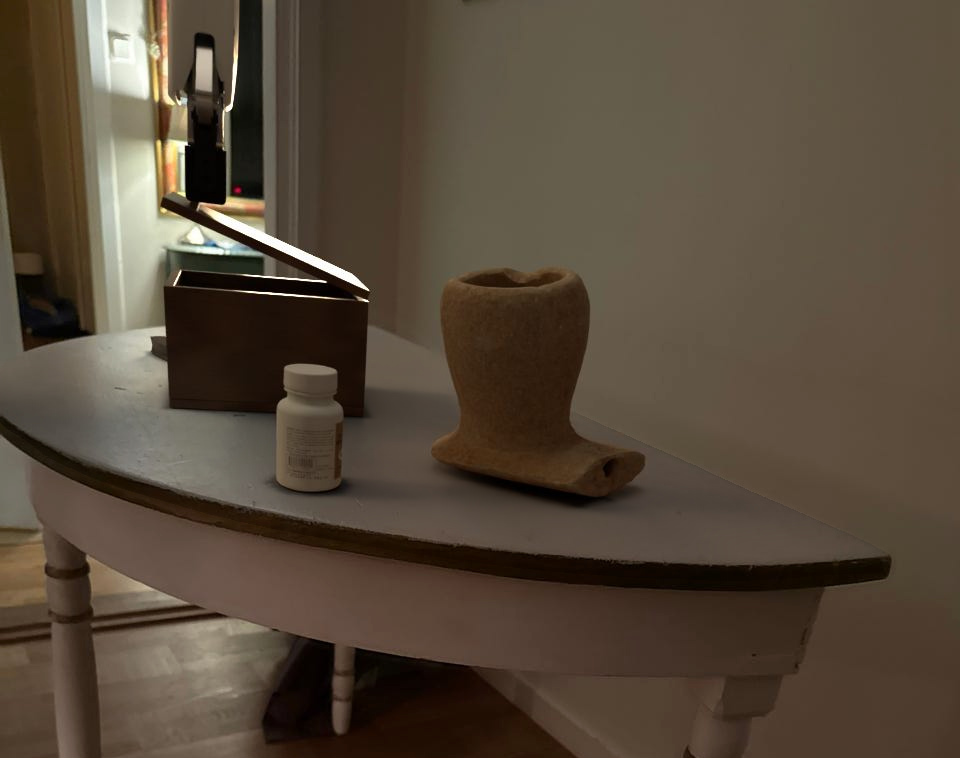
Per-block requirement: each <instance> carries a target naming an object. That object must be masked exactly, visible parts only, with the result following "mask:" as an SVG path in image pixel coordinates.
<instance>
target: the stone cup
mask: <svg viewBox="0 0 960 758" xmlns="http://www.w3.org/2000/svg"><path fill="white" fill-rule="evenodd" d="M439 319H440V321H439V323H440V329H441V335H442V342H443V348H444V354H445V358H446V363H447V367H448V370H449V374H450V377H451V380H452V383H453V384H452V385H453V387H454V391H455V395H456V397H457V401H458V402H457V403H458V406H459V412H460V414H459V420H458V425H457V427H456V428H455V430H454V431H452V432H450V433H448V434H446V435H444V436H442V437H440V438H439V439H437V440H436V441H435V442H433V444H432V445H431V447H430V454H431V456H432V458H434V459H435V460H436V461H437V462H439V463H442V464H445V465H448V466H451V467H454V468H457V469H460V470H464V471H467V472H471V473H475V474H481V475H485V476H489V477H493V478H497V479H502V480H505V481H506V480H507V481H511V482H515V483H521V484H526V485H531V486H535V487H541V488H545V489H550V490H555V491H561V492H565V493H571V494H575V495H576V494H577V495H581V496H584V497H585V496H586V497H594V498H599V497H604V496H606V495H609V494H612V493H614V492H616V491H618V490H620V489H622V488H624V487H625V486H626V485H627V484H629V483H631V482H633V481H634V479H635V478H636V477H637V476H638V475H640V474H641V473H642V472H643V471H644V469H645V466H646V455H645V454H643V453H641V452H640V451H637V450H633V449H628V448H624V447H620V446H615V445H611V444H609V443H608V444H607V443H604V442H600V441H596V440H591V439H589V438H586V437H584V436H582V435H581V434H579V433H577V432H576V429H574V427H573V426H572V423H571V419H570V417H571V408H572V402H573V398H574V394H575V391H576V387H577V384H578V380H579V377H580V374H581V372H582V366H583V363H584V359H585V355H586V351H587V347H588V341H589V333H590V324H591V322H590V321H591V302H590V297H589V292H588V290H587V288H586V286H585V283H584V281H583V279H582V277H581V276H580V275H579V274H578V273H577V272H575V271H573V270H572V269H569V268H562V267H558V266H544V267H541V268H539V269H538V270H534V271H531V272H527V273H526V272H523V271H519V270H516V269H513V268H508V267H493V268H492V267H491V268H484V269H479V270H473V271H469V272H466V273H464V274H461V275H456V276H453V277H452V278H450V279H449V280H448V282H446V284H445V285H444V287H443V290H442V292H441V296H440V303H439Z"/></svg>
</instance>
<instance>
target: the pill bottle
mask: <svg viewBox="0 0 960 758" xmlns="http://www.w3.org/2000/svg"><path fill="white" fill-rule="evenodd" d="M284 386H285V387H284V390H285V391H287V397H286V398H284V399H282V400H281V401H280V402H279V403H278V405H277V413H276V415H275V416H276V418H275V419H276V420H275V421H276V428H275V429H276V432H275V433H276V437H275V438H276V441H275V443H276V444H275V445H276V447H275V448H276V453H275V454H276V455H275V456H276V457H275V458H276V459H275V469H276V470H275V471H276V472H275V477H276V481H277V483H278V484H280V485H281V486H282V487H284V488H287V489H290V490H294V491H299V492H308V493H311V492H312V493H314V492H324V491H331V490H333V489H335V488H337V487H339V486H340V484H341V483H342V466H343V465H342V464H343V440H344V439H343V437H344V416H343V409H342V407H341V405H340V404H339V403H338V402H336V401H334V400H333V395H335V394H336V393H337V391H336V389H337V371H336V370H335V369H333V368H330V367H326V366H321V365H313V364H292V365H287V366H285V368H284Z"/></svg>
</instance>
